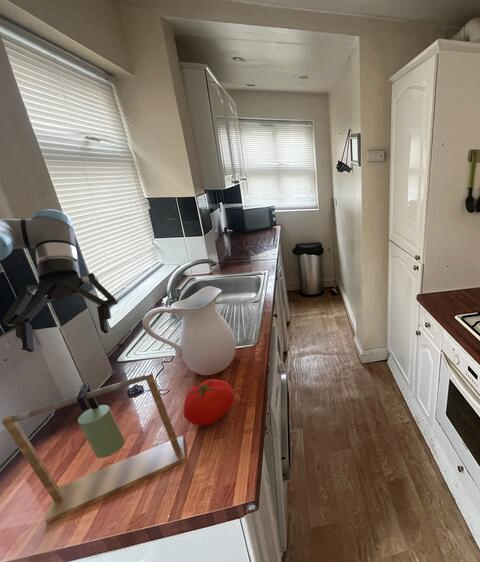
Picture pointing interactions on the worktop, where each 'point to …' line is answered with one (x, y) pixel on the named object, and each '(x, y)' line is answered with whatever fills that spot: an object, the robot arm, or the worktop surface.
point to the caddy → (99, 426)
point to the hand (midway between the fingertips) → (68, 340)
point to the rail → (109, 477)
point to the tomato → (208, 402)
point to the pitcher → (199, 332)
